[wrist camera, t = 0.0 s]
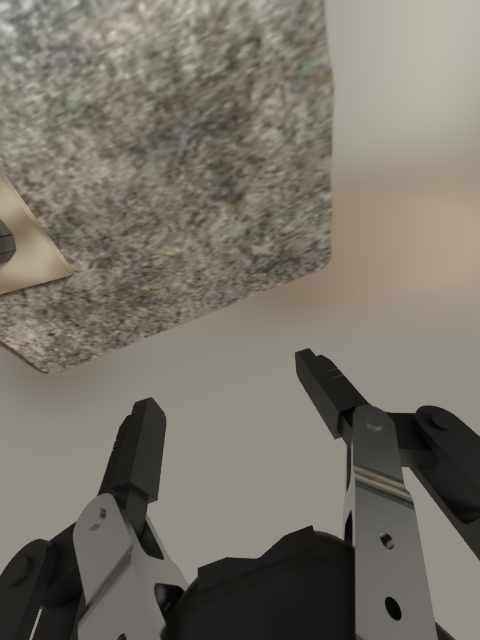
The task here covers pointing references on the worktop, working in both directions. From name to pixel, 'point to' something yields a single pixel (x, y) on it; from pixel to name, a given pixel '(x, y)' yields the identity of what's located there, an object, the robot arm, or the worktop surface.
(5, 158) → the worktop surface
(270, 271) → the worktop surface
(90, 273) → the worktop surface
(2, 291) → the collar plate
